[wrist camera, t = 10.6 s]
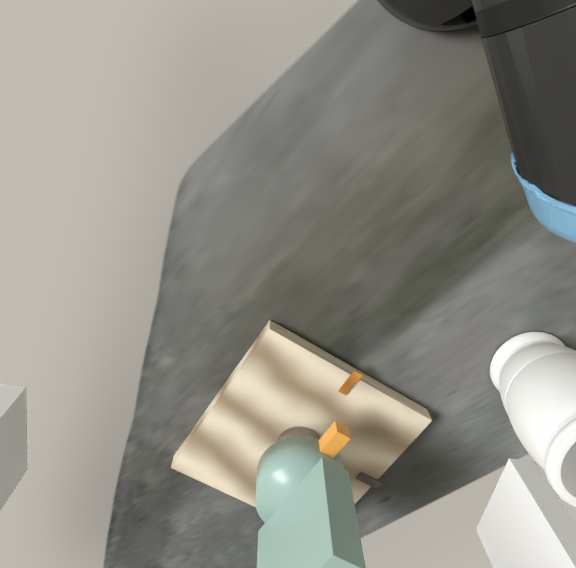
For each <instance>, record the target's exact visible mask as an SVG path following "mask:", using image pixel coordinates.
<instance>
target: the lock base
mask: <svg viewBox="0 0 576 568" xmlns="http://www.w3.org/2000/svg"><path fill="white" fill-rule="evenodd" d="M335 421H337V422H339V423H341V424H342V425H344V426H346V427H348V428H349V433H350V438H351V439H350V440H349V441H348V442H347V443H346V445H345V446H344V447H343V448H342V449H341V450H340V451H339V455H340V456H341V458H342V461H343V465H344V469H346V470H348V471H349V477H350V482H351V488H352V494H353V499H354V505H355V504H356V502H357V501H358V500H359V499H360V498H361V497H362V496H363V495H364V494H365V493H366V492H367V491H368V489H369V488H370V487H373V488H375V489H378V488H379V487H380V486H381V485H382V482H380V481H378V479H379V478H380V477H381V475H382V474H383V473H384V472H385V471H386V470H387V469H388V468H389V467H390V466H391V465H392V464H393V462H394V461H395V460H396V459H397V458H398V457H399V456H400V455H401V454H402V453H403V452H404V451H405V450H406V448H407V447H408V446H409V445H410V444H411V443H412V442H413V441H414V440H415V439H416V438H417V437H418V435H419V434H420V433H421V432H422V431H423V430H424V429H425V428H426V427H427V426H428V425H429V424H430V423H431V421H432V419H431V417H430V415H429V412H428V410H427V409H426V408H424V407H422V406H421V405H419V404H417V403H415V402H413V401H412V400H410V399H408V398H406V397H405V396H403V395H401V394H399V393H398V392H396V391H394V390H392V389H391V388H389V387H387V386H385V385H384V384H382V383H380V382H378V381H377V380H375V379H373V378H371V377H370V376H368V375H366V374H364V373H363V372H361V371H359V370H357V369H355V368H354V367H352V366H350V365H348V364H347V363H345V362H343V361H341V360H340V359H338V358H336V357H334V356H333V355H331V354H329V353H327V352H326V351H324V350H322V349H320V348H319V347H317V346H315V345H313V344H312V343H310V342H308V341H306V340H305V339H303V338H301V337H299V336H297V335H296V334H294V333H292V332H290V331H289V330H287V329H285V328H283V327H282V326H280V325H278V324H276V323H275V322H273V321H271V320H269V322H268V323H267V325H266V326H265V327H264V329H263V330H262V332H261V333H260V334H259V336H258V337H257V339H256V340H255V342H254V343H253V344H252V346H251V347H250V349H249V350H248V351H247V353H246V354H245V356H244V357H243V359H242V360H241V361H240V363H239V364H238V366H237V367H236V368H235V370H234V371H233V373H232V374H231V376H230V377H229V378H228V380H227V381H226V383H225V384H224V385H223V387H222V388H221V390H220V391H219V392H218V394H217V395H216V397H215V398H214V400H213V401H212V402H211V404H210V405H209V407H208V408H207V409H206V411H205V412H204V414H203V415H202V417H201V418H200V419H199V421H198V422H197V424H196V425H195V426H194V428H193V429H192V431H191V432H190V433H189V435H188V436H187V438H186V439H185V441H184V442H183V443H182V445H181V446H180V448H179V449H178V450H177V452H176V453H175V455H174V458H173V461H172V465H171V468H173V469H175V470H177V471H179V472H181V473H183V474H186V475H188V476H190V477H192V478H194V479H196V480H198V481H201V482H203V483H205V484H207V485H209V486H211V487H214V488H216V489H218V490H220V491H222V492H224V493H226V494H229V495H231V496H233V497H235V498H237V499H239V500H242V501H244V502H246V503H248V504H250V505H252V506H254V507H256V504H255V498H256V480H257V467H258V463H259V460H260V458H261V456H262V455H263V453H264V452H265V451H266V450H267V449H268V448H269V447H270V446H271V445H273V444H275V443H276V442H278V441H280V440H283V439H286V438H290V437H297V436H306V437H313V438H317V439H320V438H321V437H322V436H323V435H324V433H325V432H326V431H327V430H328V429H329V428H330V426H331V425H332V424H333V423H334V422H335Z"/></svg>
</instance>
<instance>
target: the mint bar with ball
mask: <svg viewBox="0 0 576 568" xmlns="http://www.w3.org/2000/svg"><path fill="white" fill-rule="evenodd" d="M350 439H351V438H350V433H349V428H348V427H346V426H344V425H342V424H341V423H339V422H337V421H335V422H334V423H333V424H332V425H331V426H330V428H329V429H328V430H327V431H326V432H325V433H324V435H323V436H322V437H321V438H320V439H317V438H313V437H306V436H297V437H290V438H286V439H283V440H280V441H278V442H276V443H275V444H273V445H271V446H270V447H269V448H268V449H267V450H266V451H265V452H264V453H263V455H262V456H261V458H260V460H259V463H258V467H257V480H256V498H255V504H256V509H257V512H258V514H259V516H260V517H261V519H262V520H263V521H264V522H265V524H264V525H263V526H262V528H261V529H260V530H259V532H258V553H257V568H365V562H364V556H363V551H362V545H361V539H360V533H359V528H358V522H357V516H356V511H355V505H354V499H353V494H352V488H351V482H350V477H349V471H348V470H346V469H344V465H343V461H342V458H341V456H340V455H339V451H340V450H341V449H342V448H343V447H344V446H345V445H346V443H347V442H348V441H349V440H350Z"/></svg>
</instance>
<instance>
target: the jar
mask: <svg viewBox="0 0 576 568" xmlns="http://www.w3.org/2000/svg"><path fill="white" fill-rule="evenodd" d="M490 376H491V379H492V382H493V384H494V385H495V387H496V388H497V389H498V390H499V391H500V395H501V399H502V402H503V405H504V407H505V410H506V412H507V414H508V416H509V419H510V422H511V424H512V427H513V429H514V431H515V433H516V435H517V436H518V438H519V440H520V441H521V443H522V444H523V446H524V447H525V449H526V450H527V451H528V453H529V454H530V455H531V456H532V458H533V459H534V460H535V461H536V462H537V463H538V464H539V465H540V466H541V467H542V468H543V469H544V470H545V473H546V477H547V479H548V482H549V484H550V485H551V487H552V488H553V490H554V491H555V492H556V494H557V495H558V496H559V497H560V498H561V499H562V500H564V501H565V502H567V503H568V504H570V505H573V506H575V507H576V351H575V350H573V349H571V348H568V347H565V345H564V344H563V343H562V342H561V341H560V340H559V339H558V338H557V337H555V336H553V335H551V334H548V333H544V332H527V333H523V334H519V335H517V336H515V337H513V338H511V339H509V340H508V341H506V342H505V343H504V344H503V345H502V346H501V347H500V348H499V349H498V350H497V351H496V353H495V355H494V357H493V359H492V361H491V365H490Z"/></svg>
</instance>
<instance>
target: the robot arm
mask: <svg viewBox="0 0 576 568" xmlns="http://www.w3.org/2000/svg"><path fill="white" fill-rule="evenodd" d="M378 1H379V3H380V4H381V5H382V6H383V7H384V8H385V9H386V10H387V11H388V12H389V13H391V14H392V15H393V16H395V17H396V18H397V19H399V20H401V21H402V22H404V23H406V24H408V25H411V26H413V27H416V28H420V29H424V30H429V31H452V30H458V29H462V28H465V27H469V26H472V25H475V24H478V26H479V29H480V33H481V39H482V43H483V47H484V50H485V54H486V57H487V61H488V65H489V68H490V72H491V76H492V79H493V83H494V86H495V90H496V94H497V97H498V101H499V104H500V108H501V112H502V115H503V119H504V123H505V126H506V130H507V133H508V137H509V141H510V144H511V148H512V154H511V162H512V167H513V170H514V173H515V175H516V176H517V177H518V179H519V181H520V182H521V183H522V186H523V189H524V192H525V195H526V198H527V201H528V204H529V207H530V209H531V211H532V213H533V215H534V216H535V217H536V218H537V219H538V220H539V222H540V223H541V224H542V225H543V226H544V227H545V228H546V229H548V230H549V231H551V232H553V233H554V234H556V235H558V236H559V237H562V238H564V239H566V240H569V241H571V242H575V243H576V0H378ZM26 470H27V409H26V387H23V386H16V385H10V384H2V383H0V510H1V509H2V507H3V506H4V504H5V503H6V501H7V500H8V498H9V497H10V495H11V494H12V492H13V490H14V489H15V487H16V486H17V484H18V483H19V481H20V480H21V478H22V476H23V475H24V473H25V472H26ZM476 530H477V532H478V535H479V537H480V539H481V542H482V544H483V546H484V548H485V551H486V553H487V555H488V558H489V560H490V562H491V564H492V567H493V568H576V523H575V521H574V520H573V518H572V517H571V516H570V514H569V512H568V511H567V509H566V508H565V507H564V505H563V504H562V502H561V501H560V499H559V497H558V496H557V494H556V493H555V492H554V490H553V489H552V487H551V486H550V484H549V483H548V481H547V480H546V478H545V477H544V475H543V474H542V472H541V471H540V469H539V468H538V466H537V465H536V463H535V462H531V461H523V460H517V459H510V458H509V460H508V462H507V464H506V466H505V468H504V471H503V473H502V475H501V477H500V479H499V481H498V484H497V486H496V487H495V490H494V492H493V494H492V496H491V498H490V501H489V503H488V505H487V507H486V509H485V511H484V513H483V515H482V517H481V520H480V522H479V524H478V526H477V528H476Z"/></svg>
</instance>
